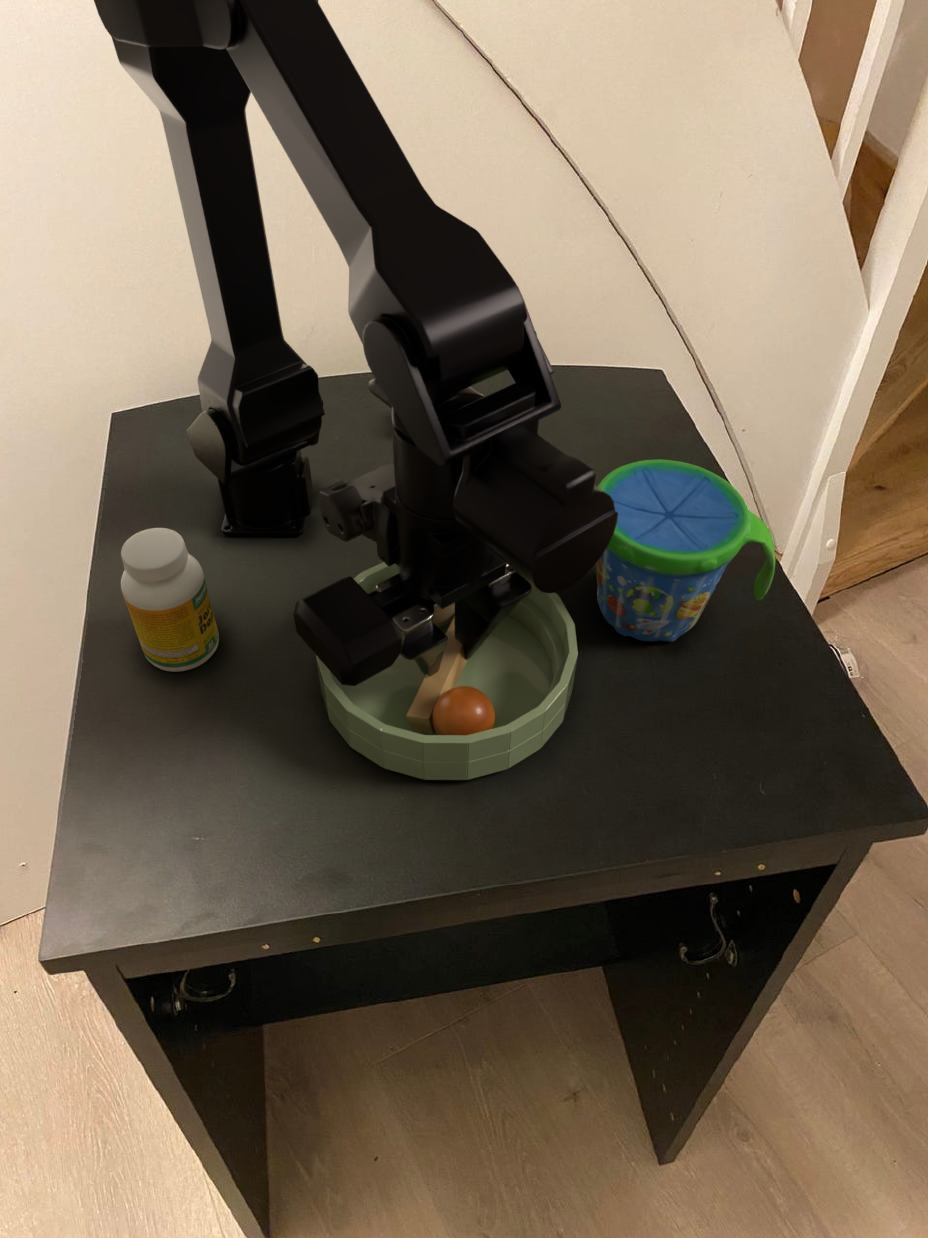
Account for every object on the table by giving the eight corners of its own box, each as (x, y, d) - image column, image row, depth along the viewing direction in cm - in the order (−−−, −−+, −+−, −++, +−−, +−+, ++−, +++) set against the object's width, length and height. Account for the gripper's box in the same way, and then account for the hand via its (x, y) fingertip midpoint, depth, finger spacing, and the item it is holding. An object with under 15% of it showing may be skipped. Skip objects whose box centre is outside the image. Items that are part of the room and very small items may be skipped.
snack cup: (759, 586, 72) (795, 481, 65) (745, 686, 66) (784, 582, 58) (562, 543, 76) (575, 438, 68) (529, 635, 69) (539, 529, 61)
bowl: (309, 784, 59) (301, 741, 56) (334, 592, 71) (329, 548, 68) (580, 785, 60) (588, 743, 56) (560, 594, 72) (566, 550, 68)
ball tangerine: (415, 742, 60) (444, 732, 57) (428, 684, 62) (457, 671, 58) (469, 760, 62) (500, 751, 58) (480, 703, 63) (511, 691, 60)
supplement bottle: (145, 624, 69) (111, 524, 62) (219, 614, 70) (194, 514, 63) (143, 680, 65) (107, 580, 58) (221, 668, 66) (195, 569, 59)
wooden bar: (433, 735, 61) (428, 719, 60) (411, 731, 61) (405, 715, 60) (491, 607, 68) (487, 591, 67) (470, 605, 69) (466, 589, 68)
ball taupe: (423, 646, 67) (392, 605, 65) (427, 617, 70) (397, 577, 69) (471, 622, 66) (441, 579, 64) (472, 594, 69) (444, 552, 68)
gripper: (486, 369, 61) (480, 545, 73) (229, 477, 53) (267, 656, 65) (603, 453, 55) (577, 631, 67) (334, 588, 47) (356, 764, 59)
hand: (446, 665), depth 64 cm, fingers closed on wooden bar, 3 cm apart
